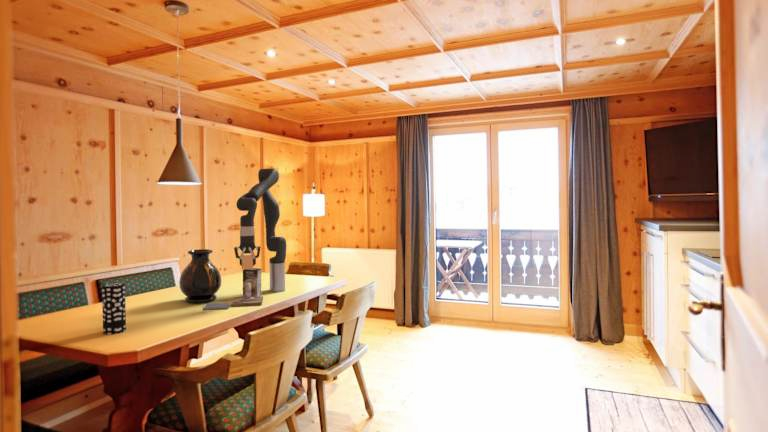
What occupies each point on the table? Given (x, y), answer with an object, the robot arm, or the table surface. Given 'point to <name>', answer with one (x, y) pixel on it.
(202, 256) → the dark brown ceramic vase
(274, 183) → the robot arm
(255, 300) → the post stand
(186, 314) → the table surface
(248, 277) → the coffee box
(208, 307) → the mat
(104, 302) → the white-spotted black cylinder
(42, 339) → the table surface
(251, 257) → the pinkish tan block
